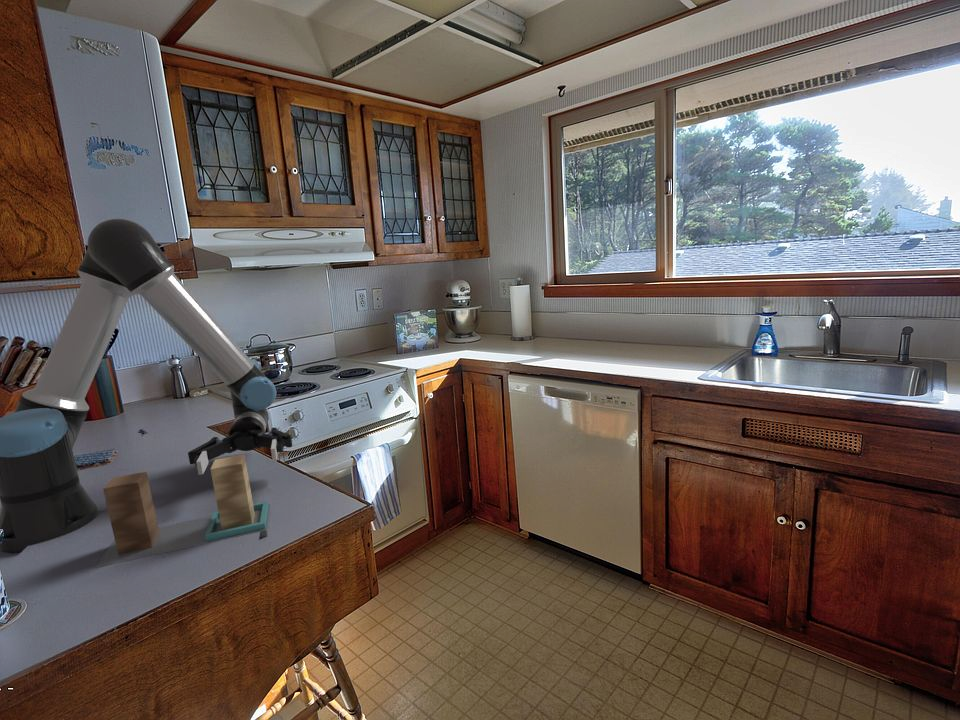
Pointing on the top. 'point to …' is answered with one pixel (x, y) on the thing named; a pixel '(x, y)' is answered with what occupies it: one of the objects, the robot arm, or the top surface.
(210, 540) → the build plate
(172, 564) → the top surface
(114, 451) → the woven mat
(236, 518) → the oak pillar
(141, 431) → the chef's knife
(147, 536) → the walnut pillar
